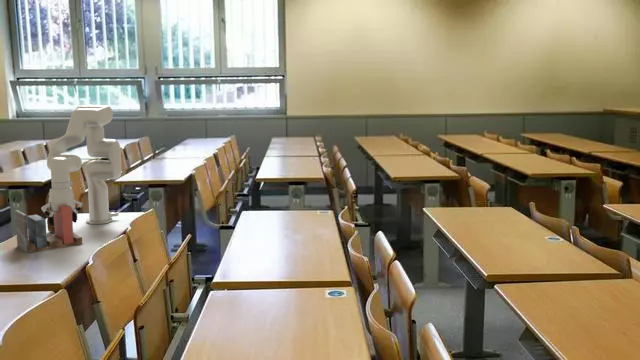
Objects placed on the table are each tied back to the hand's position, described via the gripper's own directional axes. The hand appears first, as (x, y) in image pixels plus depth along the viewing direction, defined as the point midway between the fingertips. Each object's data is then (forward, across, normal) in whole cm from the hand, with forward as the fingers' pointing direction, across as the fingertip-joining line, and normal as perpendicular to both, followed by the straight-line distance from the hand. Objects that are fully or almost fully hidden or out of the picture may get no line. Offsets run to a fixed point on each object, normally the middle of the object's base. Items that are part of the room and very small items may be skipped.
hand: (63, 223), depth 266 cm
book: (+8, 0, 0) cm, 8 cm away
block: (+9, -5, -21) cm, 23 cm away
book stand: (+9, +6, 0) cm, 10 cm away
